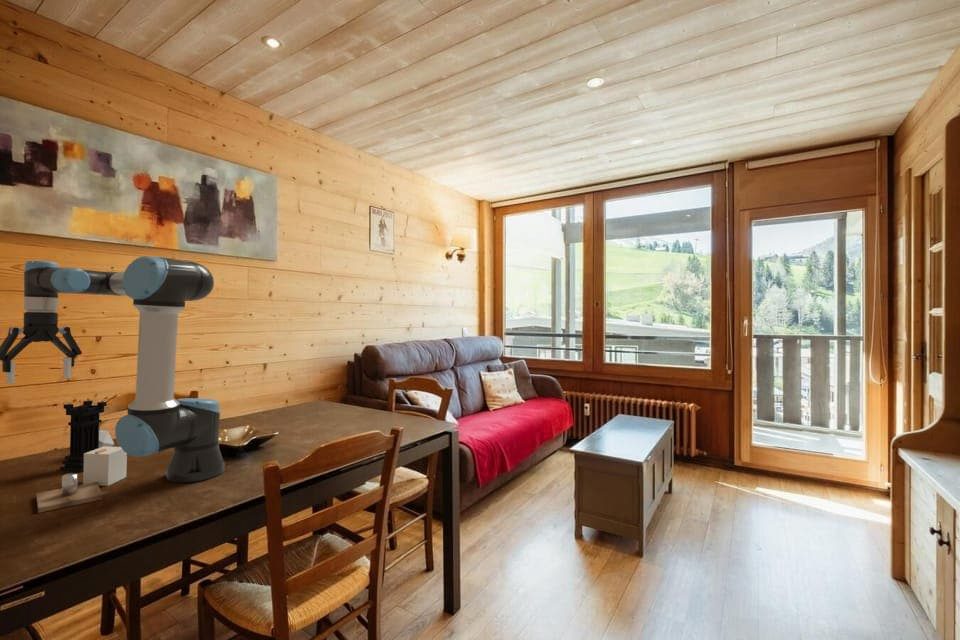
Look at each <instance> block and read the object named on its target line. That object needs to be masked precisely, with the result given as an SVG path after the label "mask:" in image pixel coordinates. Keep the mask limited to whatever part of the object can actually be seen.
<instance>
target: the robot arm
mask: <svg viewBox="0 0 960 640" xmlns="http://www.w3.org/2000/svg"><path fill="white" fill-rule="evenodd" d="M59 266H60V265H59V264H58V263H57V262H55V261H46V260H45V261H44V260H27V261H26V262H25V263H24V271H23V289H24V291H23V292H24V294H23V296H24V297H23V310H24V311H25V312H23V327H22V328H21V327H20V328H19V327H16V326H15V327H13V326H12V327H9V329H8V332H7V333H8V334H7V336H6V337H5V338H4V340H3V342H1V344H0V361H1V362H2V369H1V370H2V372H3V373H6V374H5V375H6V377H5V379H6V381H5V383H6V384H11V385H12V384H13V385H14V384H16V382H15V381H16V361H15V360H13V359H14V358H15V357H17V356H18V355H19V354H20V353H21V352H22V351H23V350H25V348H26V347H27V346H28V345H30V344H32V343H41V342H50V343H51V344H53V345H54V346H55V347H56V348H57V349H58V350H59V351H61V352H62V354H64V355H65V356H63V357H62V361H63V364H62V365H63V366H62V367H63V368H62V369H63V370H62V377H63V378H65V379H66V378H67V379H71V378H72V368H74V367H75V358H76V357H78V356H81V355H82V353H83V351H82V350H81V348H80V347H79V345H78V343H77V342H76V340H75V338H74V337H73V335H72V334H71V327H69V326H62V327H58V326H59V325H58V323H59V314H58V312H57V311H58V310H59V293H62V294H63V293H64V294H82V295H83V294H84V295H107V296H119V297H120V296H127V297H129V298H131V299H132V300H133V301H132V306H133V307H134V308H135V309H137V310H138V311H139V321H138V322H139V324H138V341H137V364H136V381H135V383H136V384H135V398H134V400H133V401H132V402H131V403H129V404H128V405H127V414H126V415H124V416H122V417H120V418H119V419H118V421H117V422H116V423H115V427H114V435H115V439H116V442H117V444H118V445H119V446H118V447H121V448H122V449H123V451H124V452H126V453H127V455H129V456H131V457H137V458H139V457H140V458H141V457H145V456H151V455H155V454H157V453H160V452H163V451H167V450H170V449H173V454H172V456H171V459H170V462H169V465H168V467H167V468H166V471H165V478H166V480H167V481H169V482H173V483H191V482H192V483H194V482H200V481H205V480H209V479H212V478H215V477H218V476H219V475H221V474H223V473H224V472H225V460H224V458H223V456H222V455H223V454H222V452H221V449H220V446H219V445H220V443H219V442H220V419H221V411H220V402H219V401H218V400H216V399H212V398H202V397H201V398H198V397H197V398H196V397H195V398H193V397H191V398H190V397H188V398H186V397H185V398H178V399H176V398H175V382H176V381H175V378H176V376H175V375H176V362H177V361H176V358H177V343H178V342H177V339H178V338H177V336H178V323H179V322H178V321H179V314H180V312H182V311H183V310H184V309H185V308H186V302H192V301H193V302H194V301H199V300H203V299H205V298H206V297H207V296H209V295H210V294H211V293H212V291H213V288H214V284H215V281H214V277H213V274H212V273H211V271H210V269H208V268H207V267H206V266H204V265H203V264H202V263H198V262H194V261H189V260H181V259H174V258H169V257H168V258H167V257H162V256H149V255H147V256H146V255H145V256H140V257H136V258H135V259H134V260H132V261H131V262H130V263H129V264H128V265H127V266H126V269H125V271H101V270H91V269H83V268H77V267H70V266H68V267H67V266H66V267H59ZM58 333H59V334H61V335H62V337H63V339H64V341H65V342H66V344H67V345H66V344H65V343H63V342H62V340H61V339H60V338H59V337H58V336H57V335H58ZM21 334H23V335H24V336H23V337H21V339H20V340H19V342H18V343H17V344H15V345H14V346H13V344H14V343H15V342H16V340H17V339H18V337H19V335H21ZM12 346H13V347H12ZM11 347H12V348H11Z"/></svg>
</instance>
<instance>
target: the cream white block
mask: <svg viewBox="0 0 960 640" xmlns="http://www.w3.org/2000/svg"><path fill="white" fill-rule="evenodd" d="M127 459H128V454H127V453H126V452H124V451H123V449H122V448H121V447H120V446H112V447H105V446H103V447H101V448H98V449H95V450H93V451H90V452H87V453H84V471H83V472H82V474H83V480H82V481H83V482H82V484H87V483H92V482H97V484H98V486H99V487H109V486H111V485H113V484H114V483H117V482H119V481H120V480H124V479H125V478H127V468H128V466H127V463H128V462H127V461H128V460H127Z"/></svg>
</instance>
